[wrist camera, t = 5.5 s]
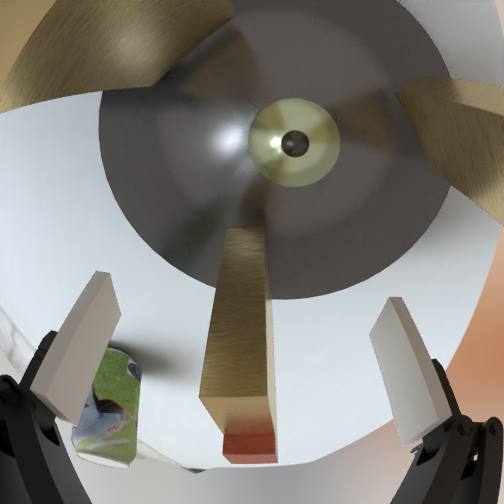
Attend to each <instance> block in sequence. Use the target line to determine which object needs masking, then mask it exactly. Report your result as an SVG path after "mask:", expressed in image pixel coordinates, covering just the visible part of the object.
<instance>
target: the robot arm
mask: <svg viewBox="0 0 504 504" xmlns="http://www.w3.org/2000/svg"><path fill="white" fill-rule="evenodd" d="M120 316H121V312H120V309H119V306H118V302H117V299H116V295H115V291H114V288H113V284H112V280H111V276H110V273H106V272H99V271H96V272H95V274H94V275H93V276H92V278H91V279H90V281H89V283H88V284H87V286H86V287H85V289H84V290H83V292H82V293H81V295H80V296H79V298H78V300H77V301H76V303H75V305H74V306H73V308H72V309H71V311H70V313H69V314H68V316H67V318H66V319H65V321H64V323H63V325H62V326H61V328H60V330H59V332H56V331H53V330H51V331H50V332H49V333H48V334H47V335H46V336H45V337H44V338H43V339H42V341H41V343H40V345H39V346H38V349H37V350H36V352H35V354H34V357H33V358H32V360H31V361H30V363H29V365H28V367H27V369H26V371H25V373H24V375H23V377H22V380H21V382H20V383H19V385H18V384H17V382H16V381H15V380H14V379H13V378H12V377H11V376H9V375H1V376H0V504H92V502H91V501H90V499H89V497H88V495H87V493H86V492H85V490H84V488H83V486H82V484H81V482H80V480H79V478H78V476H77V474H76V471H75V469H74V467H73V465H72V463H71V460H70V458H69V456H68V453H67V451H66V448H65V446H64V443H63V441H62V438H61V435H60V433H59V430H58V427H57V424H56V423H55V421H54V420H55V417H56V416H57V417H58V418H59V419H60V420H61V421H63V422H65V423H67V424H70V425H72V426H75V427H77V426H78V422H79V419H80V416H81V413H82V410H83V408H84V405H85V402H86V399H87V396H88V393H89V391H90V388H91V385H92V383H93V380H94V377H95V375H96V372H97V370H98V367H99V365H100V362H101V360H102V357H103V355H104V353H105V350H106V348H107V345H108V343H109V341H110V339H111V336H112V334H113V332H114V329H115V327H116V325H117V323H118V321H119V318H120ZM369 336H370V339H371V342H372V345H373V348H374V351H375V354H376V358H377V361H378V364H379V367H380V370H381V374H382V377H383V381H384V384H385V387H386V391H387V395H388V398H389V402H390V406H391V409H392V413H393V417H394V421H395V425H396V429H397V433H398V438H399V442H400V446H405V445H409V444H413V443H415V442H417V441H418V440H420V439H421V438H422V439H423V443H421V444H419V445H418V446H416V447H415V448H413V449H412V451H411V453H413V452H415V451H416V450H418V451H417V452H416V453H415V458H414V460H413V462H412V464H411V466H410V468H409V470H408V472H407V474H406V476H405V478H404V480H403V482H402V483H401V485H400V487H399V489H398V491H397V492H396V494H395V496H394V498H393V499H392V501H391V503H390V504H497V502H498V496H499V490H500V482H501V472H502V462H503V425H502V423H501V421H500V420H499V419H498V418H496V417H491V418H490V419H488V420H487V421H486V422H472V420H471V419H470V418H469V417H468V416H465V415H462V414H461V412H460V410H459V407H458V404H457V401H456V399H455V396H454V393H453V391H452V388H451V386H450V385H449V384H450V383H449V381H448V378H446V377H447V376H446V373H445V371H444V369H443V367H442V365H441V364H440V363H439V362H438V361H437V359H431V358H430V356H429V354H428V351H427V349H426V347H425V345H424V342H423V340H422V338H421V336H420V334H419V332H418V329H417V327H416V325H415V323H414V321H413V319H412V317H411V315H410V313H409V311H408V309H407V307H406V305H405V303H404V301H403V299H402V297H389V298H388V300H387V302H386V304H385V306H384V308H383V310H382V312H381V313H380V315H379V317H378V319H377V321H376V323H375V325H374V326H373V328H372V330H371V332H370V334H369ZM477 454H478V457H477V460H476V461H474V456H475V455H477Z"/></svg>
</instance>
